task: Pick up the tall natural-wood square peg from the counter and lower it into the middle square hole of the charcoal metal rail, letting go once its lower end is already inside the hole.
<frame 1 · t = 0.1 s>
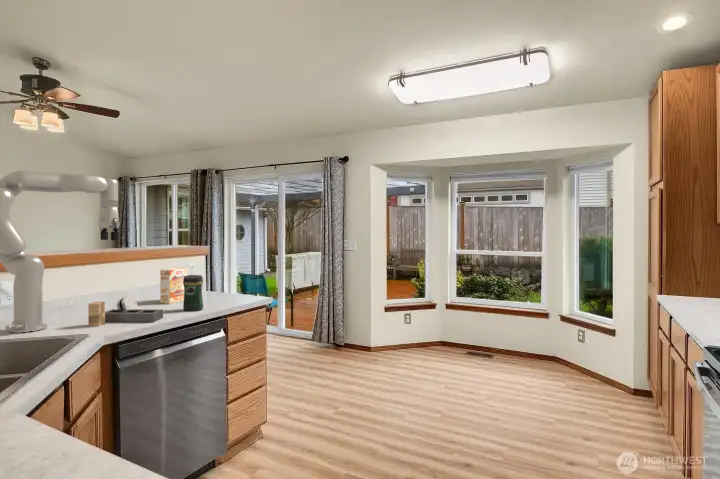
hand: (109, 240, 203), 37 cm above the countertop, tool pointing down, fingers open, 9 cm apart
rail: (132, 319, 197), on the countertop
hinge: (128, 314, 211), on the countertop
peg: (96, 325, 186), on the countertop
coffee jar: (193, 310, 223), on the countertop
coffeecake box: (174, 302, 246), on the countertop
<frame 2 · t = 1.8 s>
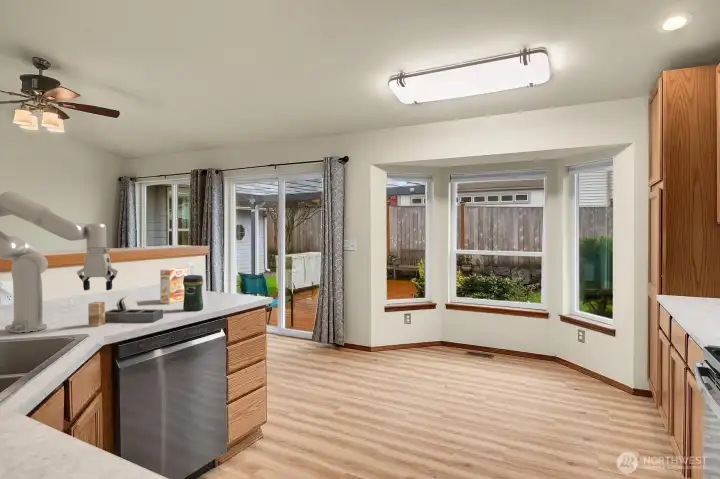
hand: (97, 289, 186), 16 cm above the countertop, tool pointing down, fingers open, 9 cm apart
nothing on the countertop moved.
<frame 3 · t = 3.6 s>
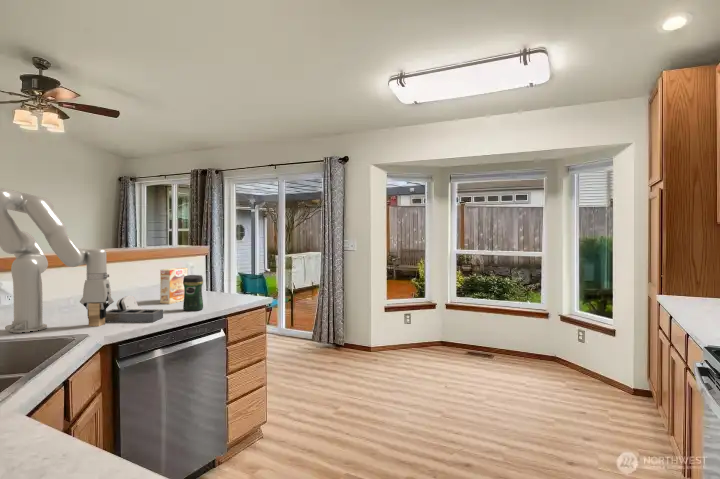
hand: (96, 317, 186), 3 cm above the countertop, tool pointing down, fingers closed on peg, 4 cm apart
peg: (96, 325, 186), on the countertop, touching gripper
everything else where it was.
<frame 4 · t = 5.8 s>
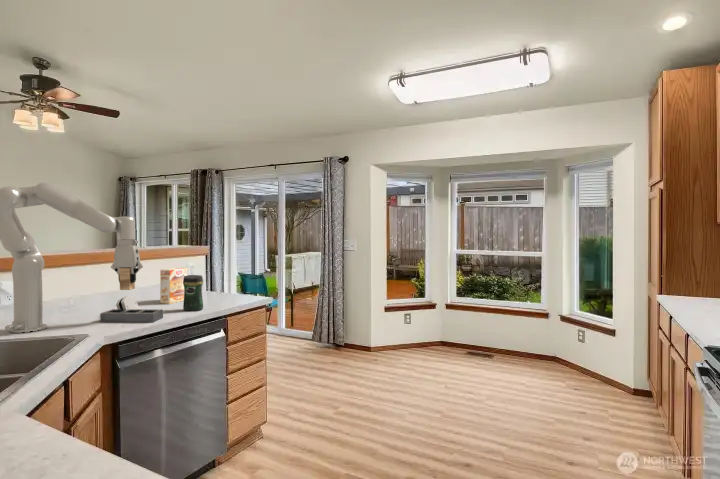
hand: (127, 282, 195), 18 cm above the countertop, tool pointing down, fingers closed on peg, 4 cm apart
peg: (127, 289, 195), point 15 cm above the countertop, touching gripper
everything else where it was.
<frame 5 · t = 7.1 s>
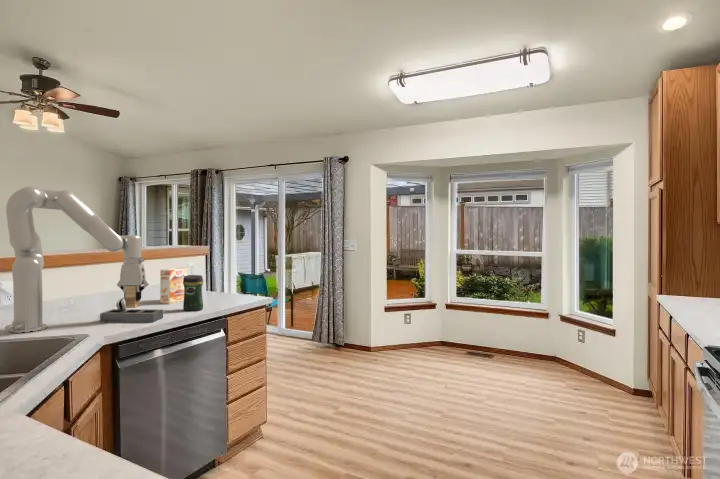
hand: (132, 299, 197), 9 cm above the countertop, tool pointing down, fingers closed on peg, 4 cm apart
peg: (132, 306, 197), point 6 cm above the countertop, touching gripper
everything else where it was.
when the fingers open (5 cm above the countertop, at t = 8.2 s): peg drops 2 cm, resting in rail.
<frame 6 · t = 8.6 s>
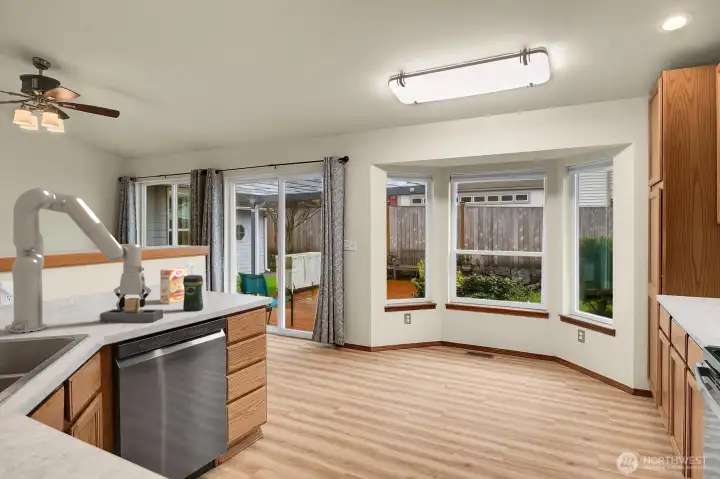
hand: (132, 306, 197), 6 cm above the countertop, tool pointing down, fingers open, 8 cm apart
peg: (132, 319, 197), resting in rail
everything else where it was.
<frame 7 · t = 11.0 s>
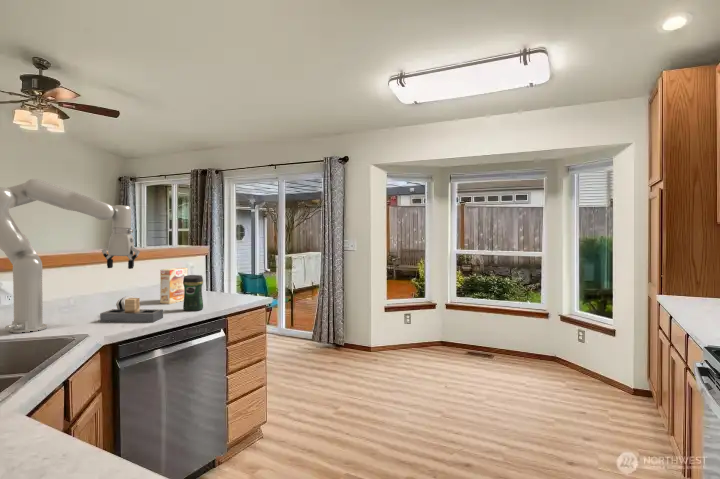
hand: (120, 268, 197), 24 cm above the countertop, tool pointing down, fingers open, 9 cm apart
nothing on the countertop moved.
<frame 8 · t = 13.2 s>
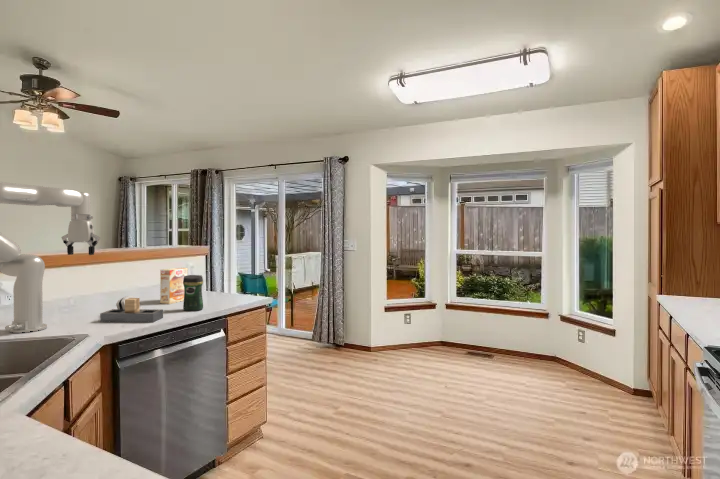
hand: (81, 254, 198), 30 cm above the countertop, tool pointing down, fingers open, 9 cm apart
nothing on the countertop moved.
at the end: peg 0.1 cm off-centre on the rail, point 0.0 cm above the rail's base; peg tilted 0°; the gripper is holding nothing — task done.
